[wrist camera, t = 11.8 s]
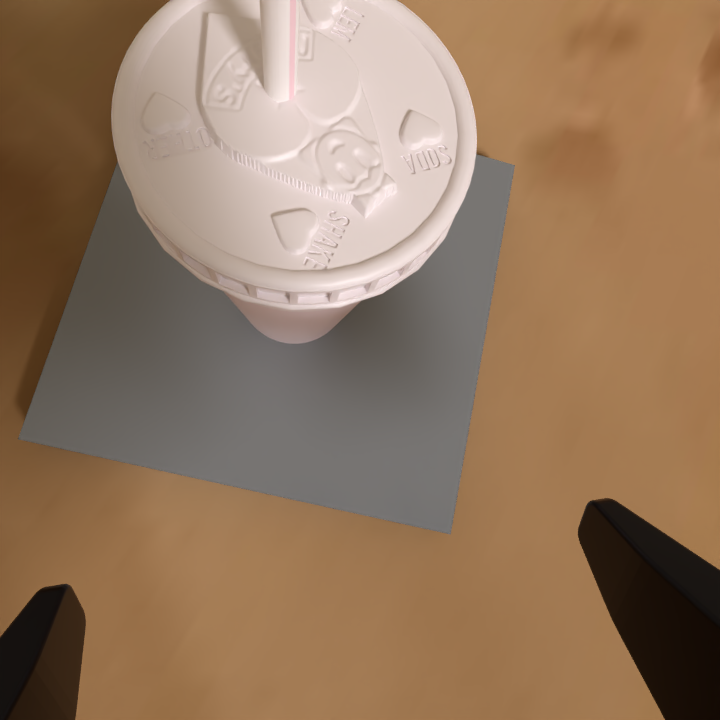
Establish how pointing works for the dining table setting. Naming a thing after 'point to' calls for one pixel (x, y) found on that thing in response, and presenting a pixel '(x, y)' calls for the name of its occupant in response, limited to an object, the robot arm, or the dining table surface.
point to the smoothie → (294, 150)
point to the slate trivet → (277, 372)
